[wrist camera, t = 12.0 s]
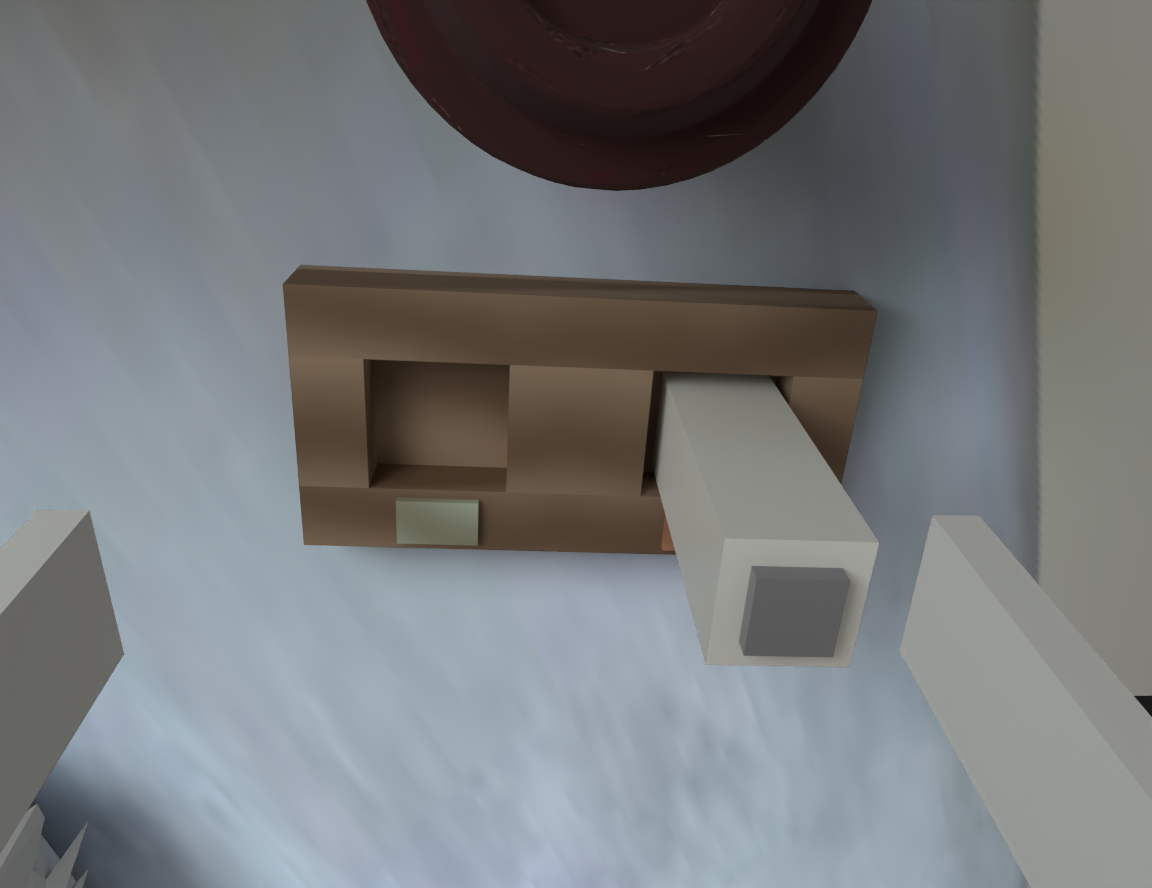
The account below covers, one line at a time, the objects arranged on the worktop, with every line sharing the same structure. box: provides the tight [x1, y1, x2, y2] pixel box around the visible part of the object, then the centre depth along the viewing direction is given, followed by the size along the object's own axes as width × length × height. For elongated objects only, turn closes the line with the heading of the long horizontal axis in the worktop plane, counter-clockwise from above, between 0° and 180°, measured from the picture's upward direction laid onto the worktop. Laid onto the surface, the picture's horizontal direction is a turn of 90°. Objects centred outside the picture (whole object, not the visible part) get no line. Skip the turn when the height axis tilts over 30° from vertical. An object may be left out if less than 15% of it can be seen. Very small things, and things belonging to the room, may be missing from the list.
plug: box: [652, 371, 879, 667], centre depth 29 cm, size 4×4×13 cm
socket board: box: [283, 265, 877, 555], centre depth 33 cm, size 10×20×3 cm, turn 87°
